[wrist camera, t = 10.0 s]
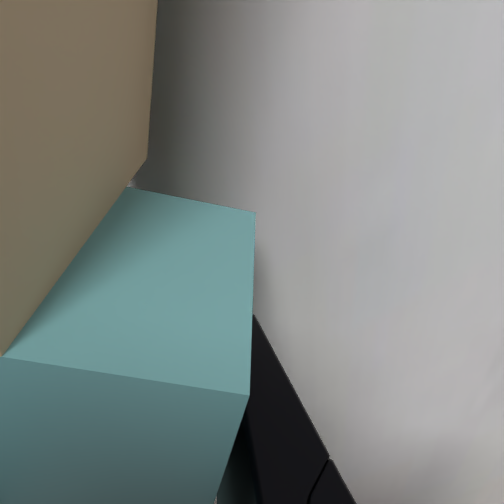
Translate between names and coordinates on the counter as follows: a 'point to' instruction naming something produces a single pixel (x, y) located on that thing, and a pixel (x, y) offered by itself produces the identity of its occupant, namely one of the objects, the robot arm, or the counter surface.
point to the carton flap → (108, 276)
